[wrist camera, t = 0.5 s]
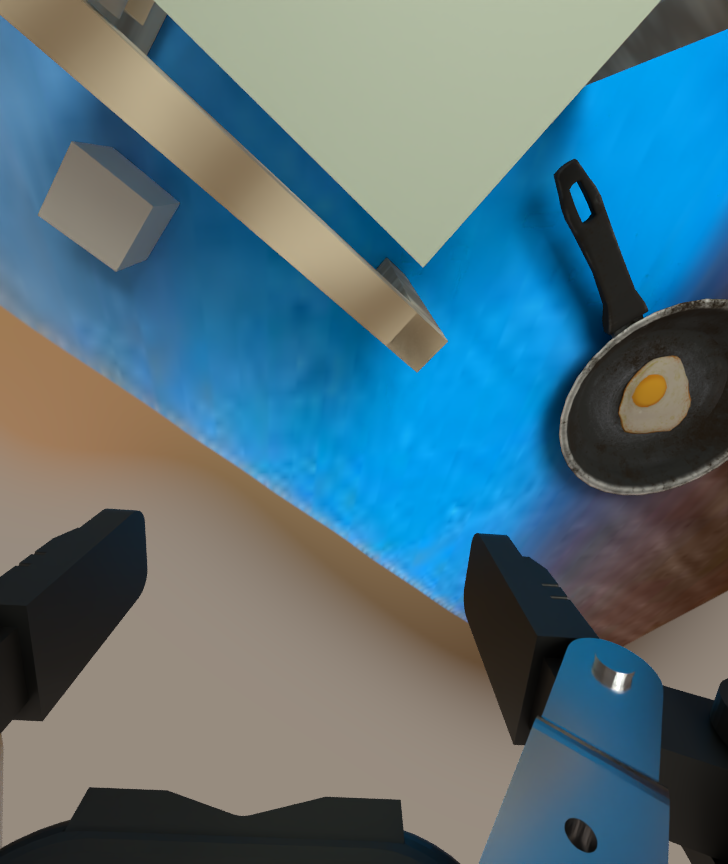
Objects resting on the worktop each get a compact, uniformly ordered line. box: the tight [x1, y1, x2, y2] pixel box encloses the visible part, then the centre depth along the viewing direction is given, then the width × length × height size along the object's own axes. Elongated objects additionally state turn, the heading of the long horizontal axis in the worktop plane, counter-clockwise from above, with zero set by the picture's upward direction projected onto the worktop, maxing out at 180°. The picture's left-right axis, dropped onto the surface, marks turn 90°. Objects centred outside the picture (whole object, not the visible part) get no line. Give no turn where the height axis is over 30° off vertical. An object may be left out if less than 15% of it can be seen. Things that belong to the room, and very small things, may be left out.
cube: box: [38, 141, 180, 272], centre depth 28 cm, size 5×5×5 cm
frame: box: [0, 0, 728, 372], centre depth 20 cm, size 23×19×16 cm
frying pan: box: [554, 159, 728, 495], centre depth 35 cm, size 19×32×4 cm, turn 37°
